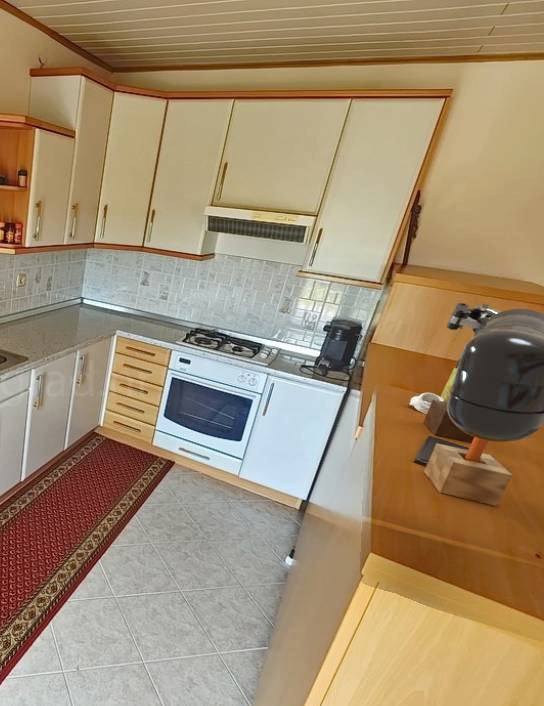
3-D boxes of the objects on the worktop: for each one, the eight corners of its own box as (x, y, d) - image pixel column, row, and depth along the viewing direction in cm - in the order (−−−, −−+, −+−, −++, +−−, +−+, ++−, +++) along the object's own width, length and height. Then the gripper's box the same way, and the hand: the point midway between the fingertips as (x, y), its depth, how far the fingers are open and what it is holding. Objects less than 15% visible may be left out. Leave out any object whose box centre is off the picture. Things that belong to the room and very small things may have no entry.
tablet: (427, 438, 107) (428, 434, 106) (492, 459, 100) (494, 455, 99) (413, 462, 94) (415, 458, 94) (487, 487, 87) (489, 483, 87)
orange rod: (462, 487, 86) (498, 409, 81) (466, 492, 85) (504, 413, 80) (450, 484, 87) (485, 407, 82) (454, 489, 85) (490, 410, 80)
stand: (475, 484, 88) (490, 454, 86) (496, 506, 81) (512, 475, 79) (423, 471, 91) (436, 443, 89) (439, 492, 84) (453, 461, 81)
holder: (463, 431, 113) (474, 407, 111) (478, 444, 106) (490, 419, 104) (423, 422, 116) (432, 399, 114) (435, 435, 109) (445, 410, 107)
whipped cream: (444, 416, 125) (453, 398, 123) (446, 420, 120) (455, 402, 118) (407, 404, 129) (416, 387, 128) (407, 408, 124) (416, 390, 122)
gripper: (426, 354, 63) (446, 328, 74) (576, 399, 55) (574, 363, 65) (455, 298, 60) (471, 280, 70) (620, 337, 51) (610, 310, 62)
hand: (521, 320), depth 68 cm, fingers open, 8 cm apart
